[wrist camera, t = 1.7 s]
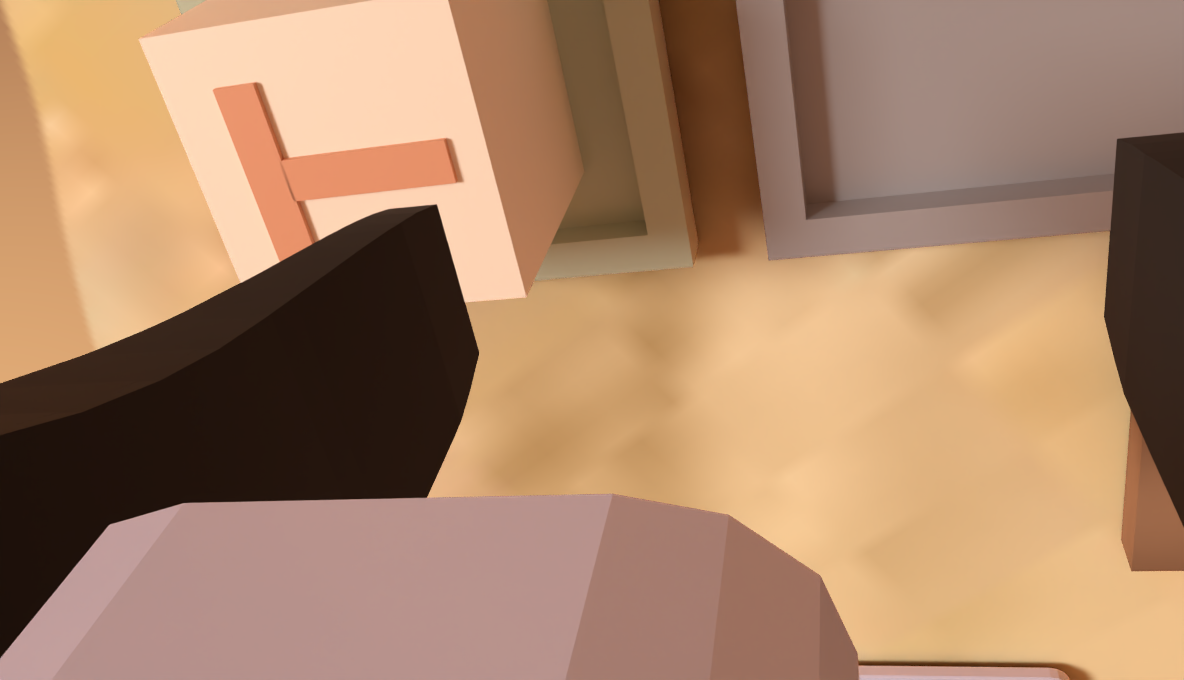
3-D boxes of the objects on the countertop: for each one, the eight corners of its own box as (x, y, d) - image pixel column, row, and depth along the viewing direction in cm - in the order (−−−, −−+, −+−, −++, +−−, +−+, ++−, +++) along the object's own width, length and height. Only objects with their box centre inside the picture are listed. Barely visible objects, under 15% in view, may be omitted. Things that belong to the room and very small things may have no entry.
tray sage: (698, 243, 22) (693, 266, 21) (311, 279, 25) (293, 301, 24) (619, -237, 18) (609, -231, 17) (153, -138, 20) (125, -128, 19)
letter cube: (584, 171, 22) (524, 300, 17) (359, 197, 23) (253, 322, 19) (528, -87, 19) (443, -10, 15) (278, -42, 20) (135, 41, 16)
